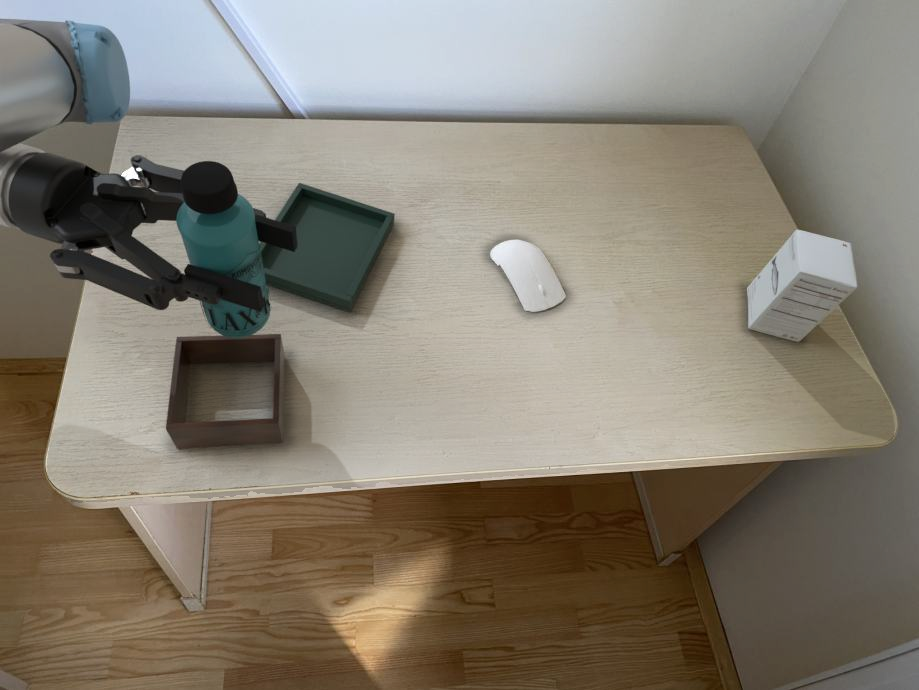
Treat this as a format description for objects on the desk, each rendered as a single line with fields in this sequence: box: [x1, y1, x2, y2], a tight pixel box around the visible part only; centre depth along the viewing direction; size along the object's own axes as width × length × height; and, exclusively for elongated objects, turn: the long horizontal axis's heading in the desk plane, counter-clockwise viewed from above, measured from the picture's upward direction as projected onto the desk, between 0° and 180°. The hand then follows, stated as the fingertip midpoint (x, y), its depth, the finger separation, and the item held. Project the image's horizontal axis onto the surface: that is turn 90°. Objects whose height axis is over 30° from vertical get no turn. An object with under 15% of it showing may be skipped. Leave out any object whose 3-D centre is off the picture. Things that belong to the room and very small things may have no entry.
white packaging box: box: [746, 229, 858, 343], centre depth 85 cm, size 7×7×13 cm
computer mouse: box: [489, 239, 567, 313], centre depth 87 cm, size 7×12×2 cm, turn 28°
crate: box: [165, 333, 286, 450], centre depth 71 cm, size 11×11×5 cm
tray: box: [259, 182, 396, 313], centre depth 85 cm, size 16×14×2 cm
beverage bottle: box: [175, 160, 273, 338], centre depth 59 cm, size 6×7×20 cm
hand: (278, 268), depth 58 cm, fingers closed on beverage bottle, 6 cm apart
